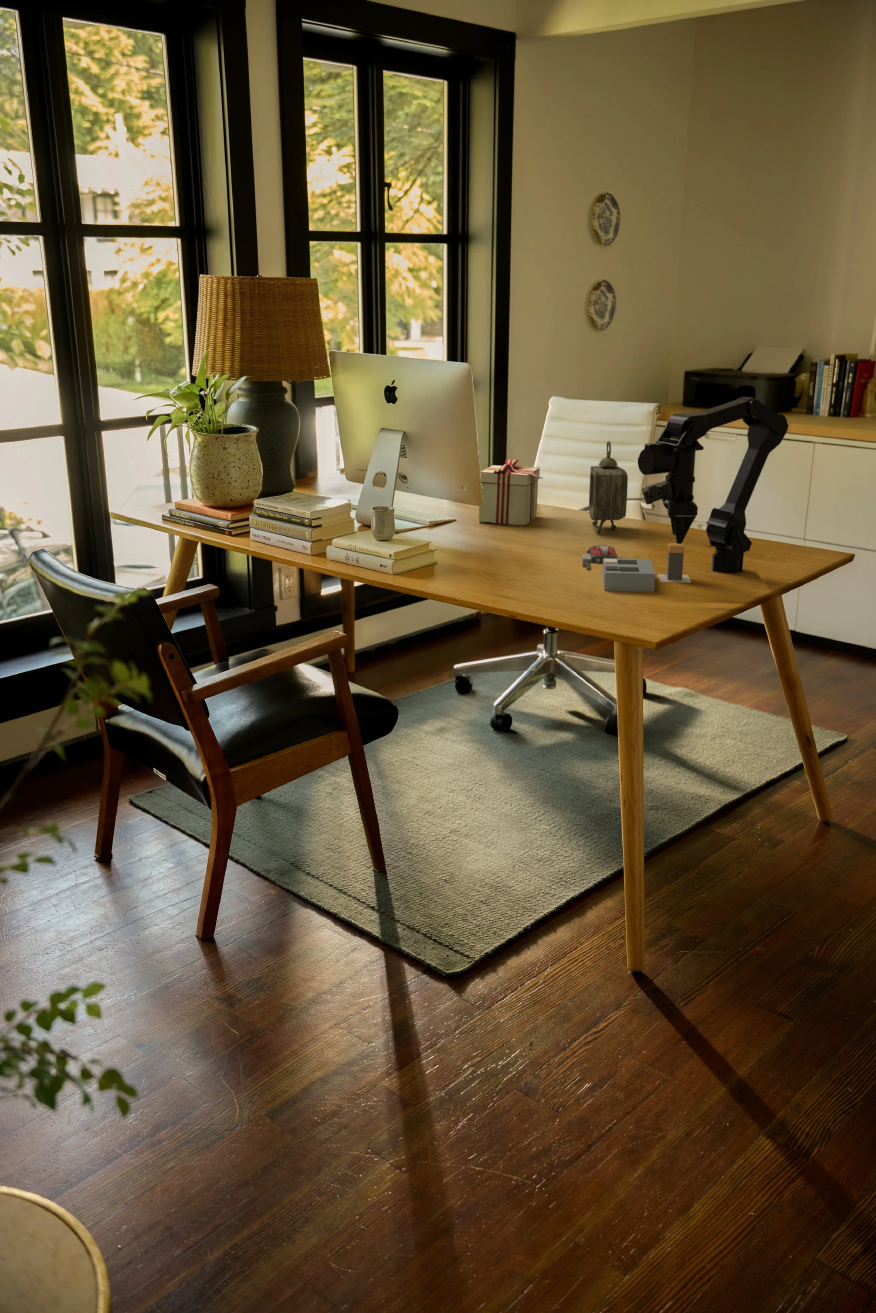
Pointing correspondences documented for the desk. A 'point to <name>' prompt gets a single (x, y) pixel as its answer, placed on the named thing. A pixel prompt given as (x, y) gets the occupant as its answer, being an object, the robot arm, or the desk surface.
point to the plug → (675, 561)
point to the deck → (664, 579)
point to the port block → (628, 574)
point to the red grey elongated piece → (598, 555)
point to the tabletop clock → (607, 491)
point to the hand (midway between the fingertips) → (677, 539)
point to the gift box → (509, 494)
